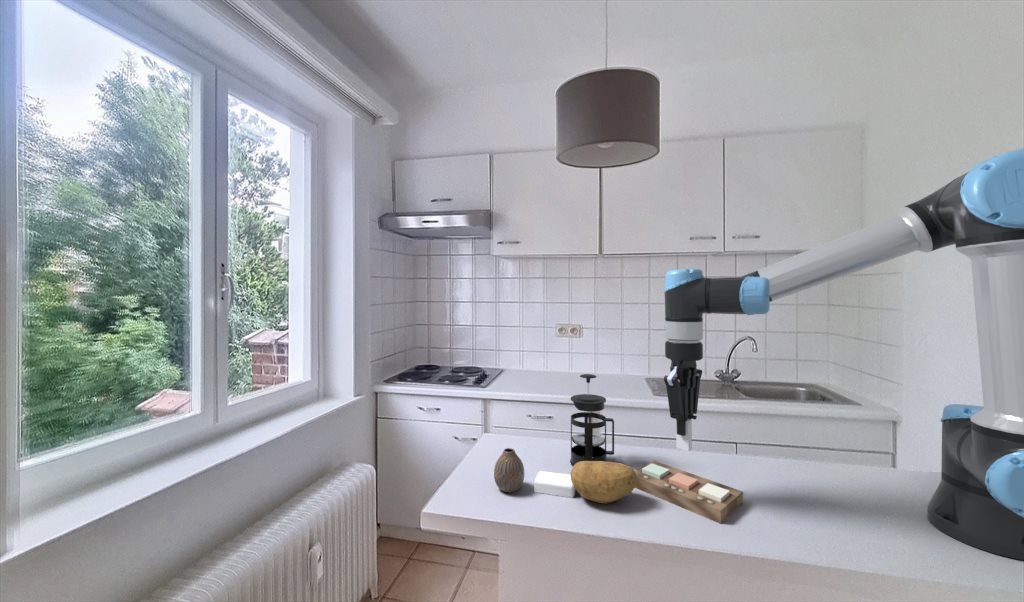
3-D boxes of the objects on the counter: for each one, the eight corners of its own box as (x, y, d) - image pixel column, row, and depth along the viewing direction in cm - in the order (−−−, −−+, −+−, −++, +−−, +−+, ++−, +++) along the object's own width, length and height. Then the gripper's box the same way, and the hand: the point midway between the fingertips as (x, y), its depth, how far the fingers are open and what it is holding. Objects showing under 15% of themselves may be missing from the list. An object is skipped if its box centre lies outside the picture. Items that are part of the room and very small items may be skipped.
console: (742, 503, 83) (742, 490, 83) (720, 523, 76) (720, 509, 76) (654, 470, 98) (654, 459, 98) (628, 485, 91) (628, 473, 91)
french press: (567, 470, 99) (566, 378, 98) (567, 454, 108) (567, 370, 107) (615, 473, 97) (615, 379, 96) (612, 457, 106) (612, 371, 106)
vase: (529, 492, 88) (529, 453, 88) (499, 498, 85) (499, 458, 85) (518, 479, 94) (517, 442, 94) (490, 484, 92) (489, 446, 92)
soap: (577, 487, 91) (577, 474, 90) (574, 499, 85) (574, 485, 85) (538, 482, 93) (538, 469, 93) (533, 493, 88) (533, 480, 88)
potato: (643, 513, 79) (643, 473, 79) (572, 511, 80) (572, 472, 80) (631, 488, 89) (631, 453, 89) (568, 487, 90) (568, 452, 90)
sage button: (669, 482, 92) (669, 469, 91) (659, 488, 89) (659, 475, 89) (652, 475, 95) (652, 463, 95) (641, 481, 92) (641, 468, 92)
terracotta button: (697, 493, 87) (697, 479, 86) (688, 500, 84) (688, 486, 84) (678, 485, 90) (678, 472, 90) (668, 492, 87) (668, 478, 87)
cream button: (729, 505, 82) (729, 490, 82) (720, 513, 79) (720, 498, 79) (707, 496, 85) (707, 483, 85) (698, 504, 82) (698, 489, 82)
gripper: (681, 336, 93) (681, 436, 94) (651, 341, 85) (652, 451, 85) (714, 339, 87) (714, 445, 88) (686, 345, 79) (686, 462, 79)
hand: (684, 448), depth 87 cm, fingers closed
